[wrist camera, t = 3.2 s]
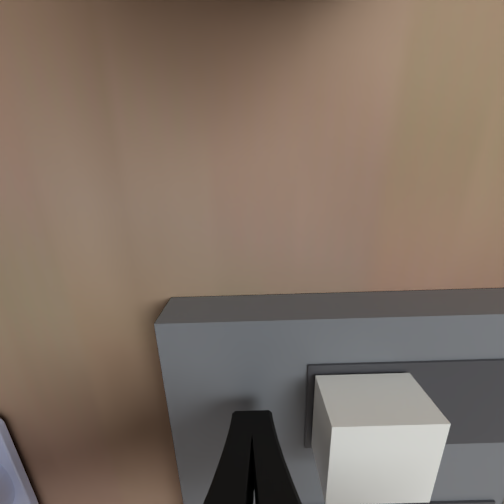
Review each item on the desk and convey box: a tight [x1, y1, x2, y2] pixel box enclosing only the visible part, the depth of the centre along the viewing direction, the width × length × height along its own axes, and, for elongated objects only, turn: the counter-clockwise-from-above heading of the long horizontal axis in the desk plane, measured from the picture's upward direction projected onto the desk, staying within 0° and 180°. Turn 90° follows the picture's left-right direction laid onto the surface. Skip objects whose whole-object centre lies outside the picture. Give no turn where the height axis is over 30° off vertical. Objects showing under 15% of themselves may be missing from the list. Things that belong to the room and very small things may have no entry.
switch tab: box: [311, 373, 451, 504], centre depth 9 cm, size 4×4×2 cm
